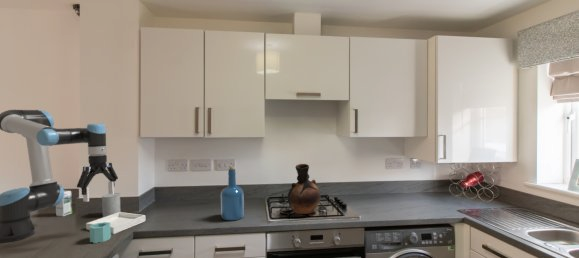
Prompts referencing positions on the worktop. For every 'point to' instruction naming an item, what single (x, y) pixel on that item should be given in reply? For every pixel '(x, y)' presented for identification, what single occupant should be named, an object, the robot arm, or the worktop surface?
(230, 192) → the wine bottle
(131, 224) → the tray
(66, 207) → the syrup box
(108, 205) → the grey cylinder
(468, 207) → the worktop surface
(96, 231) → the teal faceted pot
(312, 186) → the ceramic vessel
